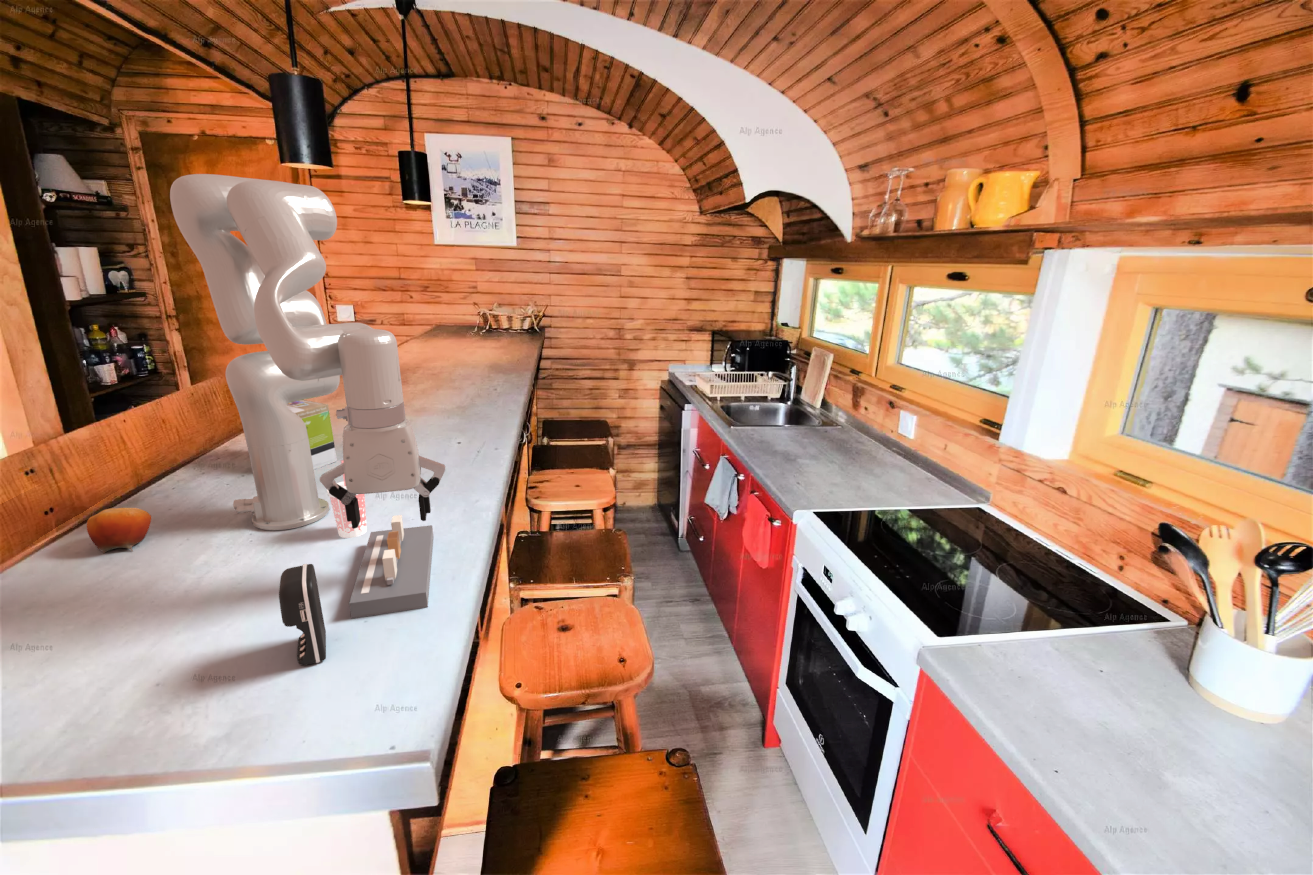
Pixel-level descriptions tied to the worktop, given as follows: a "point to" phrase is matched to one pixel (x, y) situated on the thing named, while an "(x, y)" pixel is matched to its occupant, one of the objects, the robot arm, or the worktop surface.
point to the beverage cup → (341, 518)
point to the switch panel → (410, 577)
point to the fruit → (118, 528)
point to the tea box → (317, 430)
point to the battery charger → (303, 612)
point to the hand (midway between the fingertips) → (390, 520)
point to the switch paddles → (393, 549)
